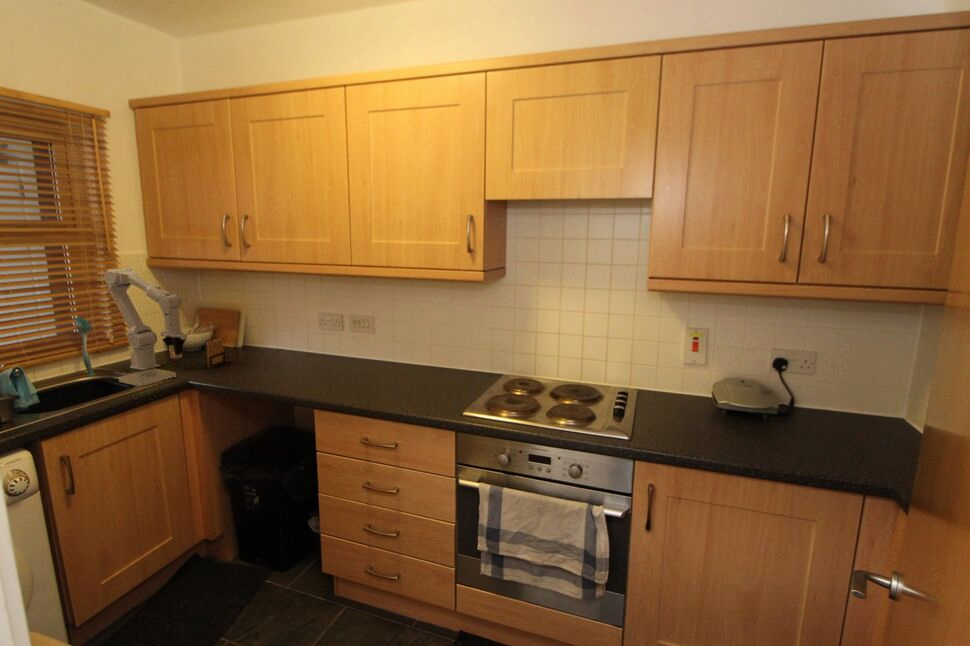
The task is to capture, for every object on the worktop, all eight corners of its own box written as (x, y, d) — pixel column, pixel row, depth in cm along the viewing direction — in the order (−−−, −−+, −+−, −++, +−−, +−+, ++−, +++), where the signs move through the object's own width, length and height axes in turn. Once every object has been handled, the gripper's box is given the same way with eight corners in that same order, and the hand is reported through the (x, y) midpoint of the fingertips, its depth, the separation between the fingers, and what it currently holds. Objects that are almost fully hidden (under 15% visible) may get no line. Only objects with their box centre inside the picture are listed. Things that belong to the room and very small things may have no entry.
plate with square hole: (119, 381, 199) (118, 377, 199) (154, 372, 212) (154, 368, 211) (141, 386, 193) (140, 381, 193) (176, 377, 206) (175, 372, 205)
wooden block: (170, 357, 216) (168, 345, 215) (177, 356, 219) (176, 344, 218) (175, 358, 214) (173, 346, 213) (182, 357, 217) (180, 344, 216)
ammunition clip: (222, 361, 230) (219, 336, 228) (226, 362, 230) (223, 336, 227) (206, 368, 219) (203, 341, 217) (210, 368, 219) (207, 341, 217)
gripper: (152, 323, 213) (155, 354, 216) (174, 326, 207) (177, 357, 210) (168, 320, 219) (171, 350, 222) (190, 323, 213) (193, 354, 216)
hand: (175, 354), depth 216 cm, fingers closed on wooden block, 3 cm apart
